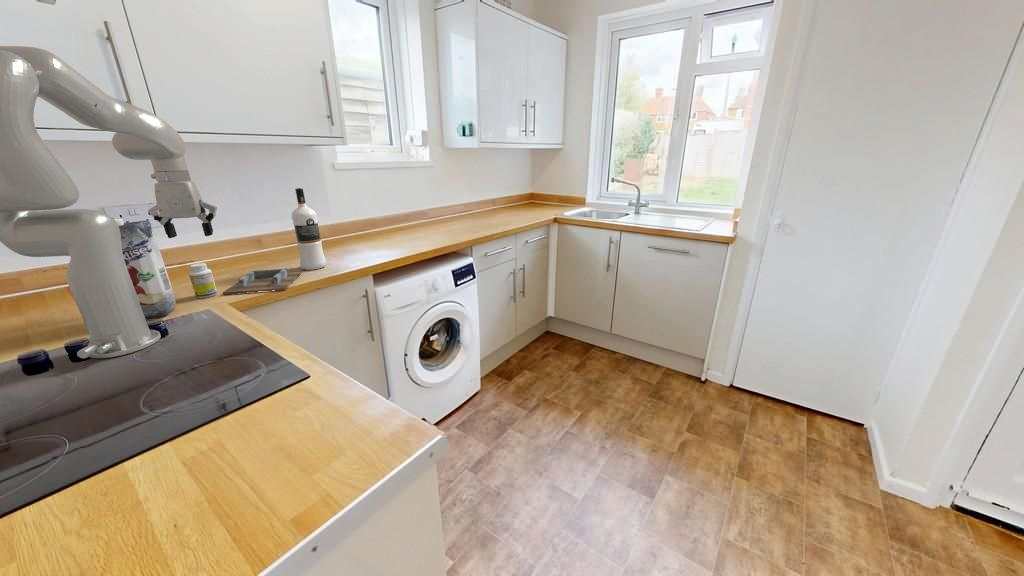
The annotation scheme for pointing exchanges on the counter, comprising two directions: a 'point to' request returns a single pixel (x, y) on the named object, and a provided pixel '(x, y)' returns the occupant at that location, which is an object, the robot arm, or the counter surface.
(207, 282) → the supplement bottle
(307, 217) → the vodka
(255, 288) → the u rest
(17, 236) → the robot arm
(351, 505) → the counter surface
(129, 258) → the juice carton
